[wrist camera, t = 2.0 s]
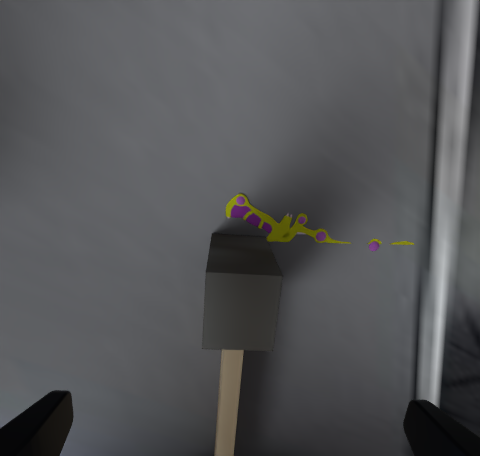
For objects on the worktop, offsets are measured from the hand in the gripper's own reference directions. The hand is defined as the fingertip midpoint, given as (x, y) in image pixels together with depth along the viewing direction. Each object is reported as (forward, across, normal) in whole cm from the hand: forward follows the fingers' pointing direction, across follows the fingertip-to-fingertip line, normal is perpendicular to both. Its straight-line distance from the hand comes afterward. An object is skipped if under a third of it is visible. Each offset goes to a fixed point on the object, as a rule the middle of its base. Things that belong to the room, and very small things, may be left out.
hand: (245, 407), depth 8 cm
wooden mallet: (+9, 0, +7) cm, 11 cm away
